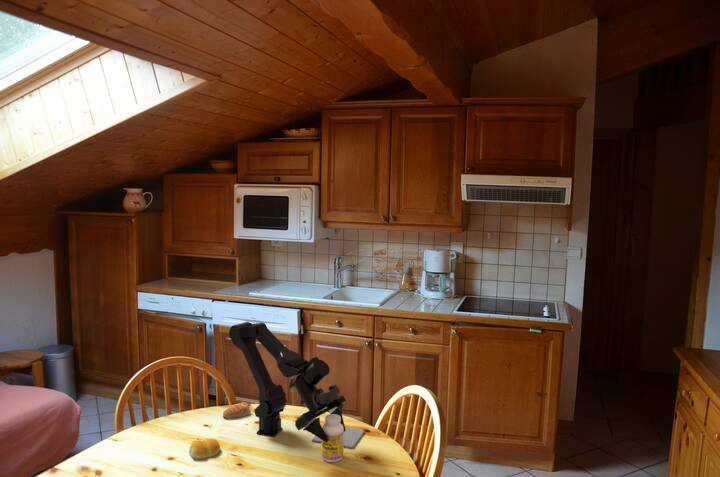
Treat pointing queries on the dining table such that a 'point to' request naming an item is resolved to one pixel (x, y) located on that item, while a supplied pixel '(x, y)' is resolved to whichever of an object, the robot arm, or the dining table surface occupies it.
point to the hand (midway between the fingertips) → (336, 436)
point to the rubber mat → (347, 437)
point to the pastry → (237, 411)
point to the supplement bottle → (333, 439)
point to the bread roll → (204, 448)
